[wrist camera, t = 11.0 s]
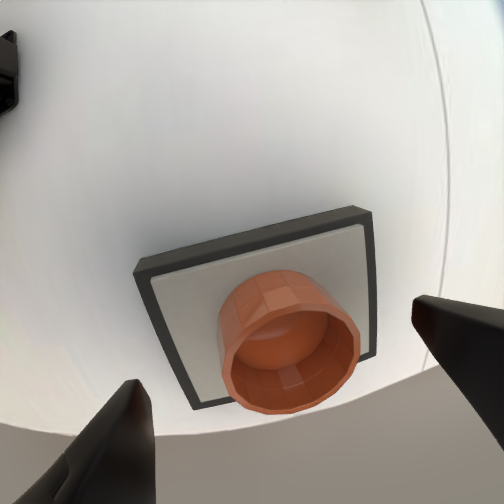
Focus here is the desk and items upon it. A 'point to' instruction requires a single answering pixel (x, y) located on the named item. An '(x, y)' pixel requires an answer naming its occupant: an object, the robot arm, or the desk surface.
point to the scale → (241, 269)
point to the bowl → (284, 343)
